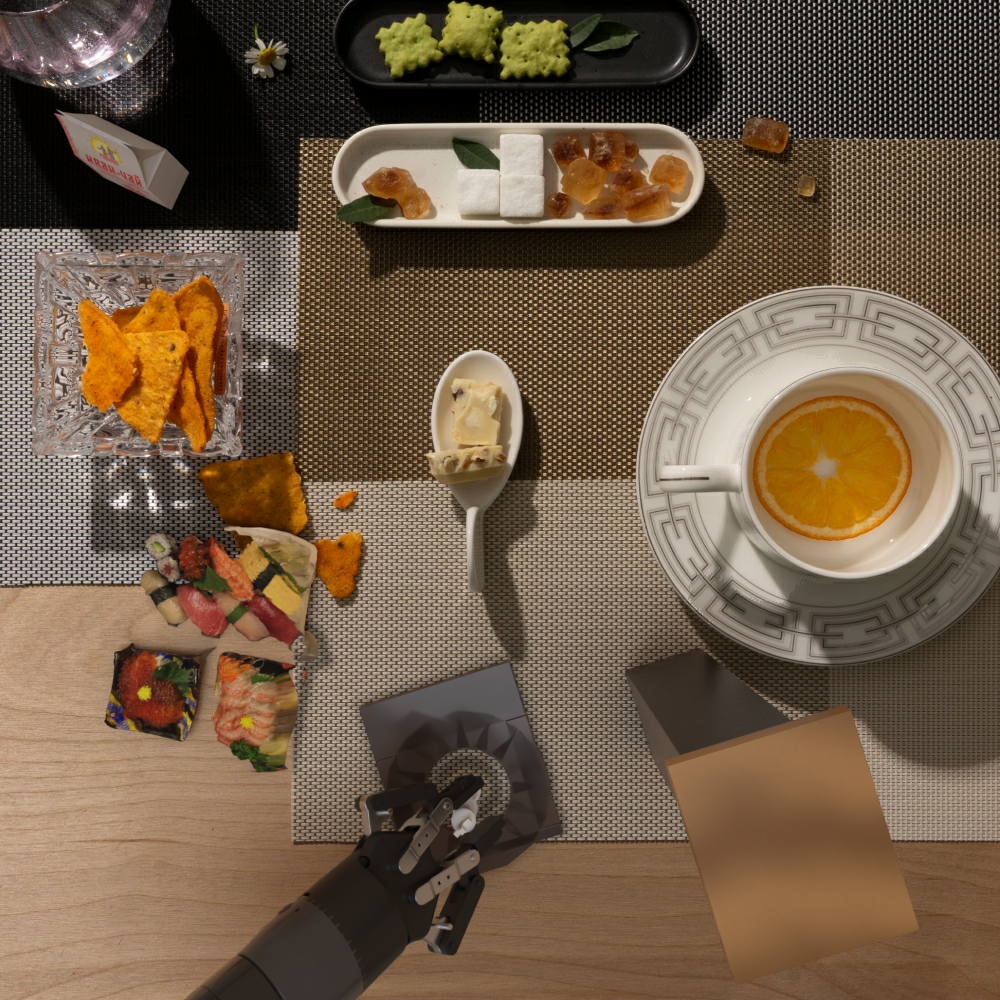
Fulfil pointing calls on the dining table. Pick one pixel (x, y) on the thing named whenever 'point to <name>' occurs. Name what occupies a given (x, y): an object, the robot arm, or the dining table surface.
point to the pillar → (694, 705)
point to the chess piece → (465, 816)
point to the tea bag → (125, 157)
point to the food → (235, 599)
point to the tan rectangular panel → (791, 844)
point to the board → (466, 725)
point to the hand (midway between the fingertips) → (486, 799)
